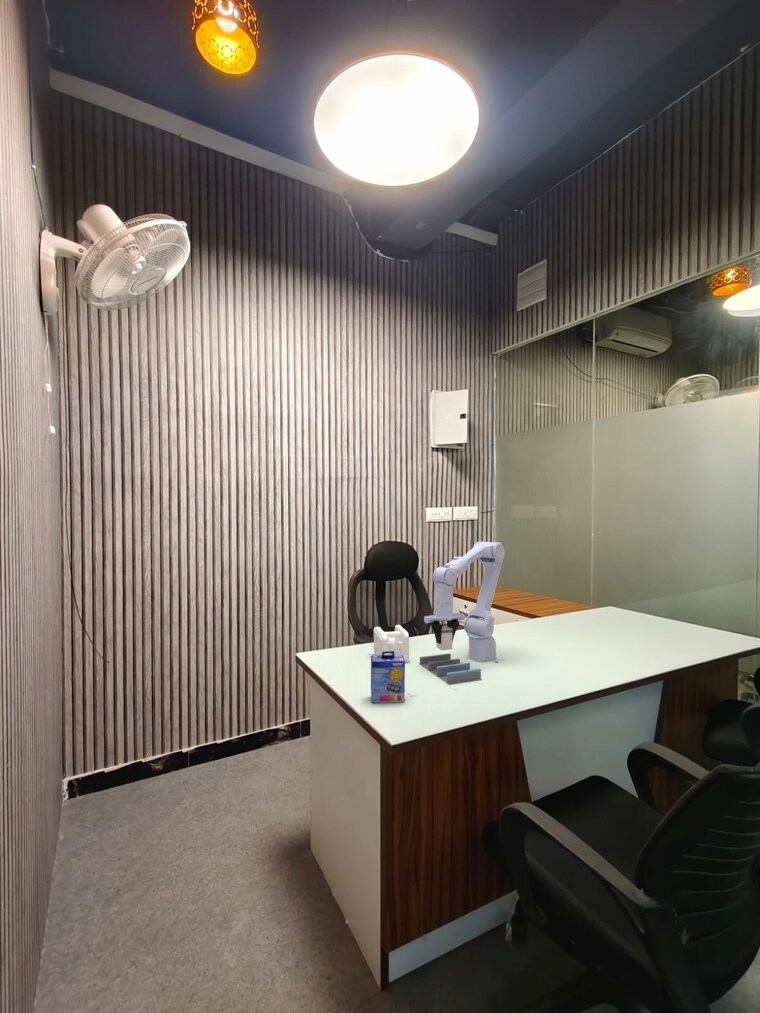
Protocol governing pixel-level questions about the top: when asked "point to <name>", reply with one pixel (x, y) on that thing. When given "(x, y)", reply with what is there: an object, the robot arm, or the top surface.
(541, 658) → the top surface
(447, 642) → the beige block
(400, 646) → the cable organizer
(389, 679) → the ink cartridge box
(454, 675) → the grey slotted rack
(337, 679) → the top surface
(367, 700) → the top surface
